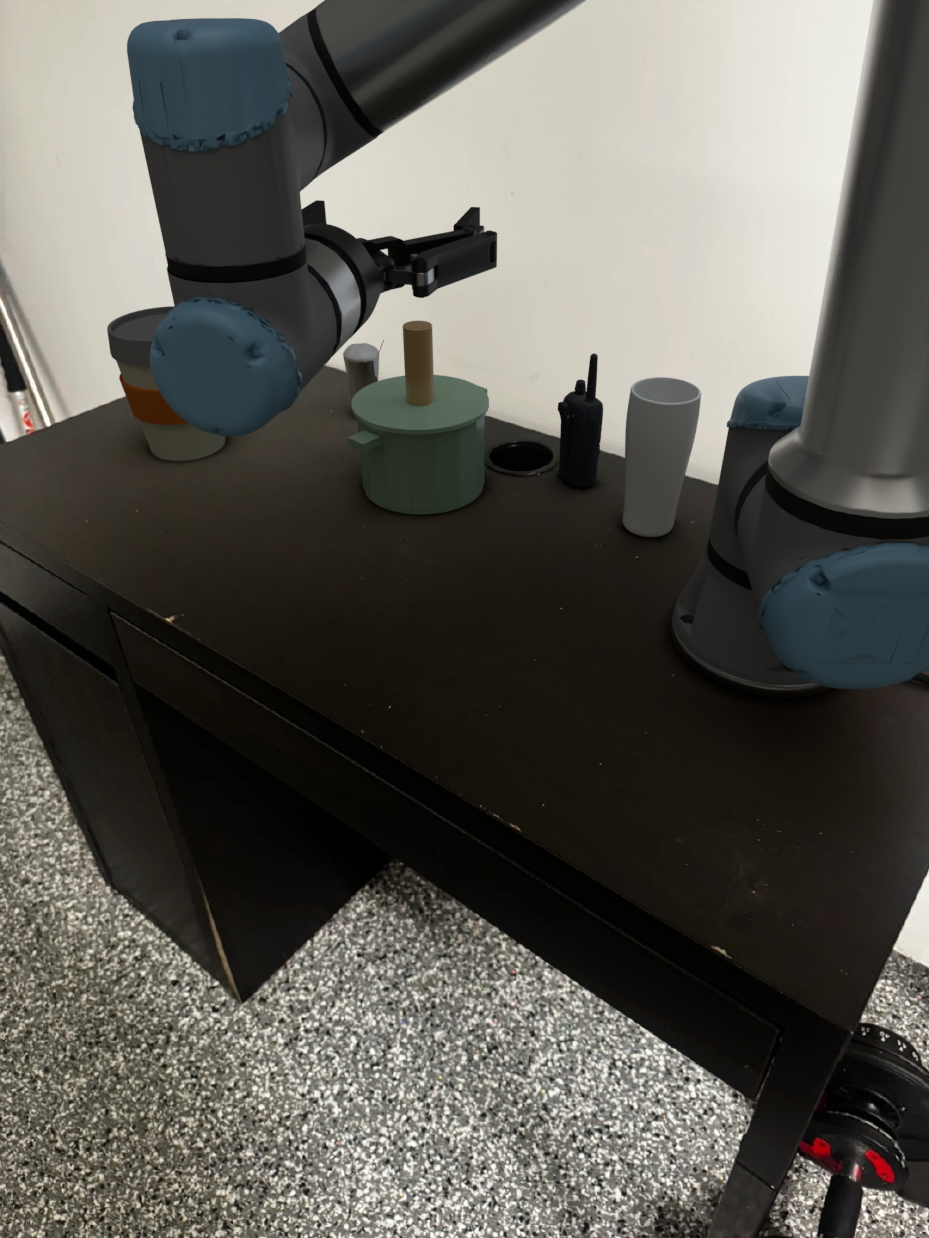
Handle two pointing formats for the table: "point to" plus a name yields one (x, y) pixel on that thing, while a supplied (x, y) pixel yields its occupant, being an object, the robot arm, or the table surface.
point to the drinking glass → (657, 452)
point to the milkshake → (361, 366)
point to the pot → (422, 468)
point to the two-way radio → (581, 431)
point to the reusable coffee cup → (154, 390)
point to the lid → (419, 393)
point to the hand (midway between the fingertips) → (397, 220)
